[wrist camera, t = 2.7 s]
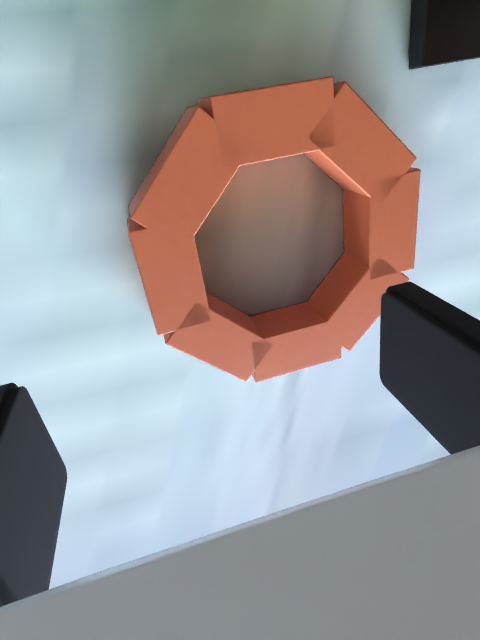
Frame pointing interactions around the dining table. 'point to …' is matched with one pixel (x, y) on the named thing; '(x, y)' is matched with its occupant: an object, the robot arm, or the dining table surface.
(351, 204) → the ring terracotta
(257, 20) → the dining table surface
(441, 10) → the peg stand
